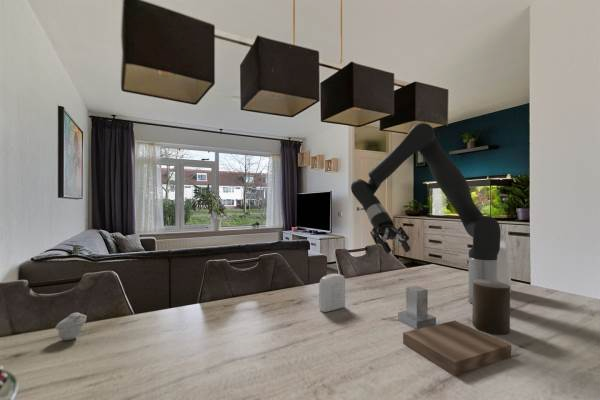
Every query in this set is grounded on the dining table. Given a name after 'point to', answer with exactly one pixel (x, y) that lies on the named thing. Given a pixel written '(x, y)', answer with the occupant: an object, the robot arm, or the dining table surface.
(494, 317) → the pillar candle
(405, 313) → the block
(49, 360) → the dining table surface
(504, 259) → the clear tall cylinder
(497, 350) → the walnut plinth
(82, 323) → the frog figurine
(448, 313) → the dining table surface
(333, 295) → the photo printer
